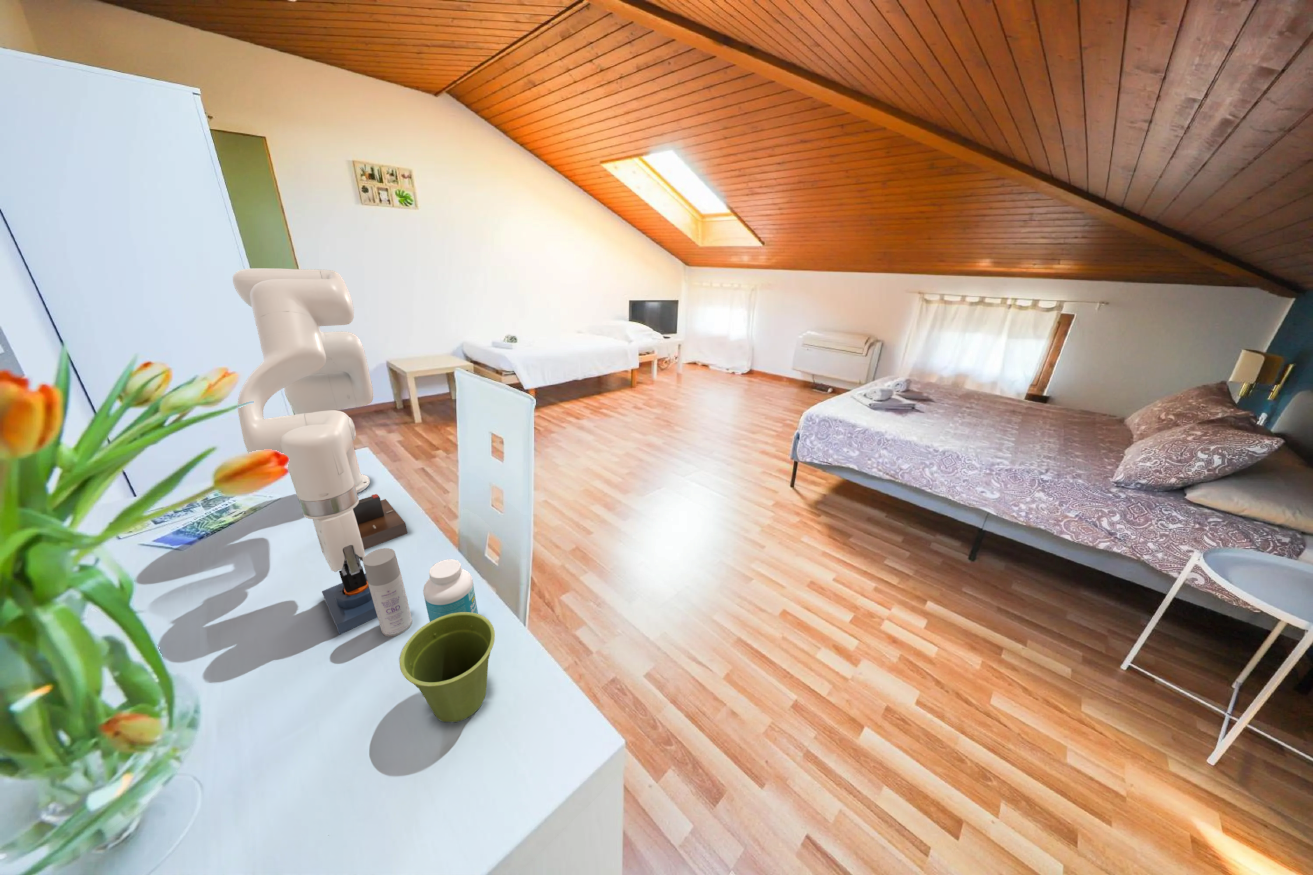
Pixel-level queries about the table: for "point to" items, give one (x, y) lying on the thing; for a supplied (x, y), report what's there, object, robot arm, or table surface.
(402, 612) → the container
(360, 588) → the button
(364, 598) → the button block
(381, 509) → the black boxy piece
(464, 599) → the pill bottle
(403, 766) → the table surface
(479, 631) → the plant pot
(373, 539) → the brown wooden switch base
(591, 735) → the table surface
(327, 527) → the robot arm
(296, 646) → the table surface
